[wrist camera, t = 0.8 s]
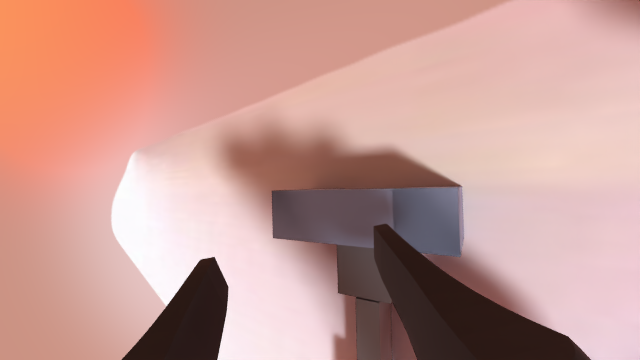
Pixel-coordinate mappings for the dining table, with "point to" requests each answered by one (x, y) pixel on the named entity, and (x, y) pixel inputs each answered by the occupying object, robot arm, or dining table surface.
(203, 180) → the dining table surface
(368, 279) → the plug
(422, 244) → the housing
